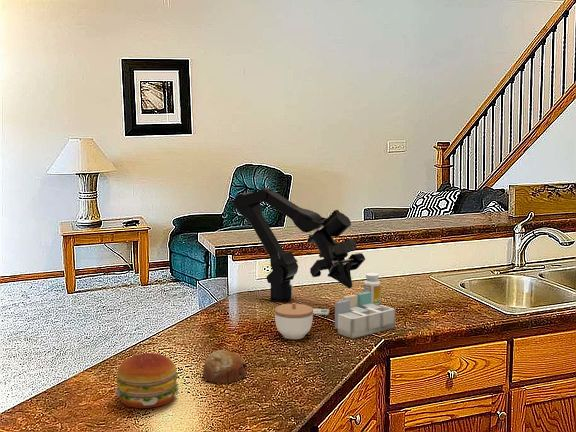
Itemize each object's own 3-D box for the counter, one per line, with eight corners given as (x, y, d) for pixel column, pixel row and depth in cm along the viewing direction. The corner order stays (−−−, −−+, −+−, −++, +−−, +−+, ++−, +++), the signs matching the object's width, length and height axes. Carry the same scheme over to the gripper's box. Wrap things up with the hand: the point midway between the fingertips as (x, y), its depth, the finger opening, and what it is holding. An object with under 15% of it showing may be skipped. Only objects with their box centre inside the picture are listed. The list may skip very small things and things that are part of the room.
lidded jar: (317, 332, 200) (318, 300, 199) (306, 343, 190) (306, 310, 189) (282, 328, 204) (282, 296, 202) (268, 339, 194) (268, 306, 192)
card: (302, 313, 218) (302, 312, 218) (304, 309, 223) (304, 307, 223) (328, 315, 217) (328, 313, 217) (329, 310, 222) (329, 308, 222)
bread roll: (211, 382, 173) (196, 354, 171) (249, 364, 173) (235, 336, 171) (210, 399, 163) (195, 369, 161) (250, 379, 163) (235, 349, 162)
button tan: (342, 321, 207) (342, 296, 206) (353, 319, 210) (353, 294, 209) (358, 327, 202) (358, 301, 201) (369, 324, 204) (370, 299, 203)
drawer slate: (334, 327, 201) (335, 302, 200) (346, 324, 204) (346, 299, 203) (350, 333, 196) (351, 307, 195) (362, 330, 199) (363, 304, 197)
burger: (111, 414, 146) (110, 368, 144) (119, 389, 159) (117, 346, 158) (178, 411, 147) (177, 365, 146) (179, 386, 161) (178, 344, 159)
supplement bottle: (379, 301, 233) (380, 272, 231) (380, 305, 228) (381, 276, 226) (363, 300, 233) (363, 272, 232) (363, 305, 228) (364, 275, 227)
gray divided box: (337, 333, 199) (338, 314, 199) (380, 322, 210) (380, 304, 209) (352, 338, 195) (352, 319, 194) (395, 327, 205) (395, 309, 204)
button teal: (356, 318, 210) (356, 293, 209) (367, 315, 213) (367, 291, 212) (372, 323, 205) (373, 298, 204) (383, 321, 208) (383, 296, 207)
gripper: (316, 233, 211) (340, 276, 204) (361, 227, 222) (386, 268, 215) (299, 255, 218) (322, 297, 211) (344, 248, 229) (368, 288, 222)
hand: (350, 287), depth 215 cm, fingers closed
